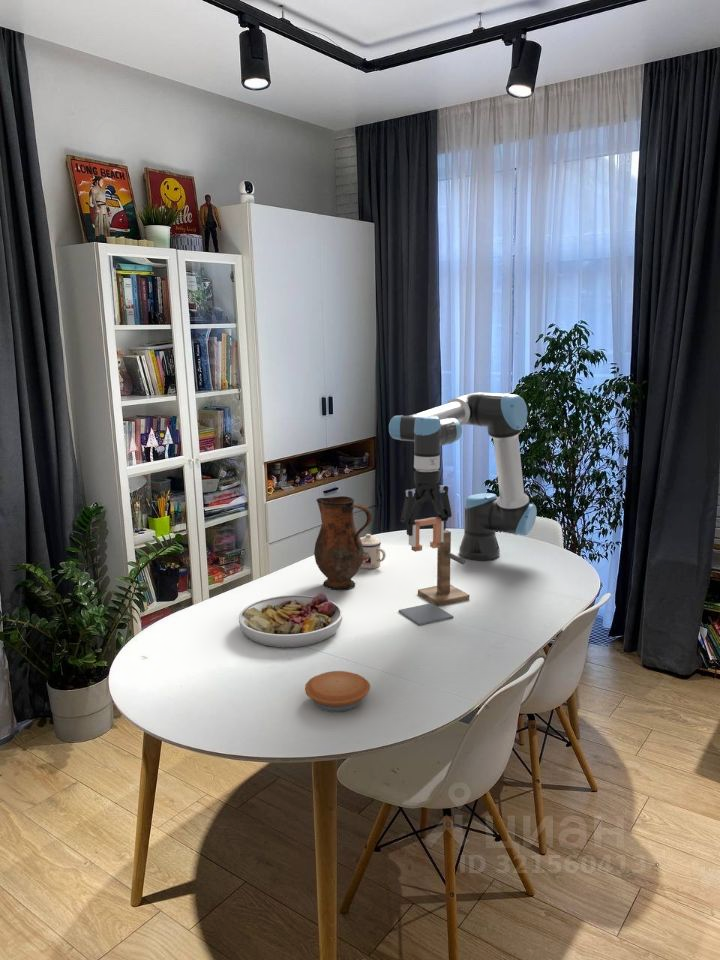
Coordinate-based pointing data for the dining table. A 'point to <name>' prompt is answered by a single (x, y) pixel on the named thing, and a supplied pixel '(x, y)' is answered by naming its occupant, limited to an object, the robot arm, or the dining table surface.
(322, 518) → the pitcher
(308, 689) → the pie
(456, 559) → the hook stand
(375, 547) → the teacup with lid
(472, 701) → the dining table surface
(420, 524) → the c link
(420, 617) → the coaster
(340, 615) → the bowl
